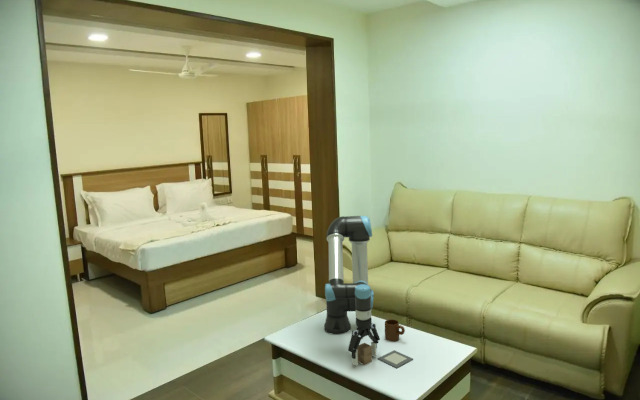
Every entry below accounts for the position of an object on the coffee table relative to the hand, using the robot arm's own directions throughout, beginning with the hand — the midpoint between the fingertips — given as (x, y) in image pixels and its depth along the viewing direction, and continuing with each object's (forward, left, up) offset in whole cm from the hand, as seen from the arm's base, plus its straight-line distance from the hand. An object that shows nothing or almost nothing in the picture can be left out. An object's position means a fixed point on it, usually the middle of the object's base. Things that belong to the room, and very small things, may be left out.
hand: (364, 359), depth 214 cm
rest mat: (+9, +12, -1) cm, 15 cm away
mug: (-5, +28, -1) cm, 28 cm away
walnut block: (0, 0, -1) cm, 1 cm away
